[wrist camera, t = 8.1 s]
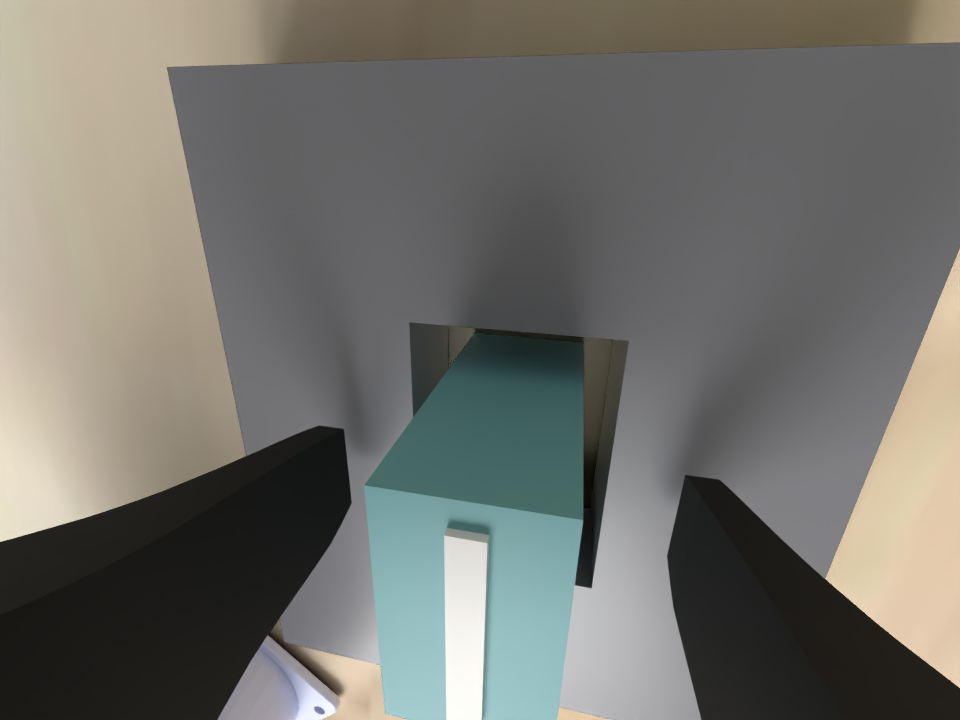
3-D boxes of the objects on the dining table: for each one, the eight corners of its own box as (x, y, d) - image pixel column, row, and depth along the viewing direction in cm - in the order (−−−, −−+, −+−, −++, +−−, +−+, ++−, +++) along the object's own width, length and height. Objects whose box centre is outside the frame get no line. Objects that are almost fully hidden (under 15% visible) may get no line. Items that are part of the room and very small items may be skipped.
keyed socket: (722, 648, 15) (753, 753, 12) (331, 570, 17) (284, 642, 15) (902, 84, 9) (1043, 40, 6) (266, 94, 11) (166, 67, 9)
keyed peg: (566, 494, 14) (551, 767, 7) (472, 480, 15) (381, 722, 8) (583, 342, 12) (583, 528, 6) (474, 332, 13) (359, 491, 6)
